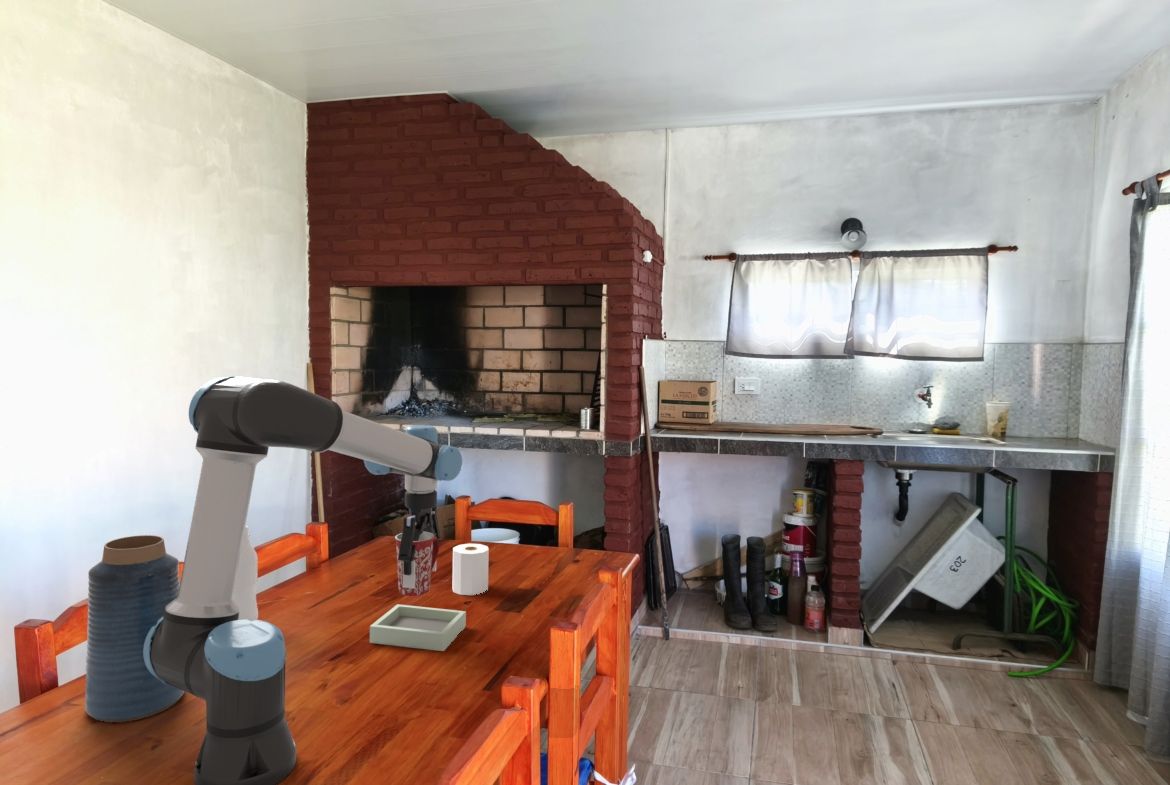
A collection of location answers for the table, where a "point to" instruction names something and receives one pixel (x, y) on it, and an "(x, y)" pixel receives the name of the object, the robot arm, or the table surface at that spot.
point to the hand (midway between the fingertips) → (420, 578)
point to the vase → (127, 628)
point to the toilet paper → (470, 569)
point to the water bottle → (246, 581)
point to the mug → (419, 563)
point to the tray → (418, 627)
